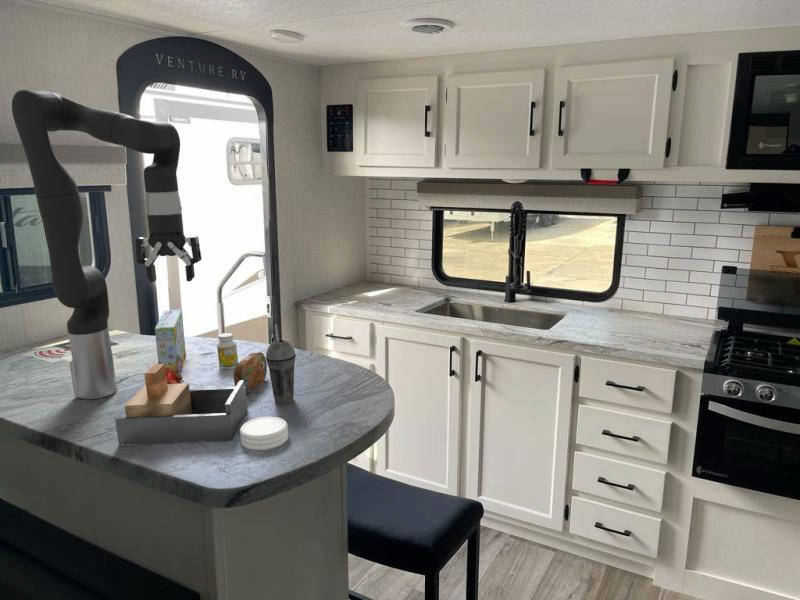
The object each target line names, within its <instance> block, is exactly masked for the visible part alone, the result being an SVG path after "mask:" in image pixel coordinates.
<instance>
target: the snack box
mask: <svg viewBox="0 0 800 600" xmlns="http://www.w3.org/2000/svg"><path fill="white" fill-rule="evenodd" d="M154 333H155V335H154V336H155V344H156V354H157V364H165V367H169V368H170V369H177V370H178V373H177V374H179V375H181V373H182V369H183V367H184V363H185V360H186V357H187V352H186V350H187V349H186V340H185V332H184V319H183V309H168V310H167V309H166V310H164V311H163V312H162V315H161V316H160V318H159V320H158V322H157V324H156V325H155V328H154Z"/></svg>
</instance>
